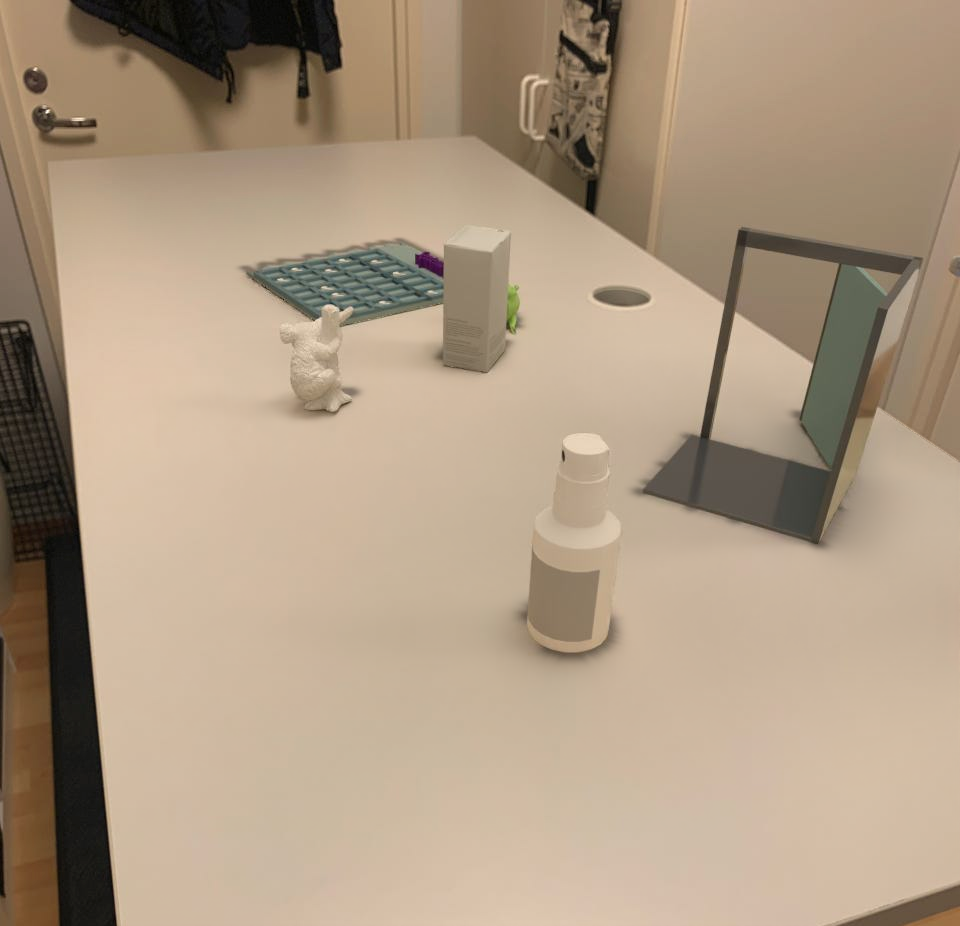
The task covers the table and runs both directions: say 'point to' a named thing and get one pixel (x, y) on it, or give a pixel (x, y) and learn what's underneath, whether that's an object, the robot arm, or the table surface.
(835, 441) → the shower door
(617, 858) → the table surface
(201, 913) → the table surface
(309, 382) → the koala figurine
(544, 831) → the table surface
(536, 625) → the spray bottle
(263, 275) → the calendar
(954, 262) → the robot arm
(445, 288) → the cosmetic box
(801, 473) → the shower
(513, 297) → the green animal figurine
